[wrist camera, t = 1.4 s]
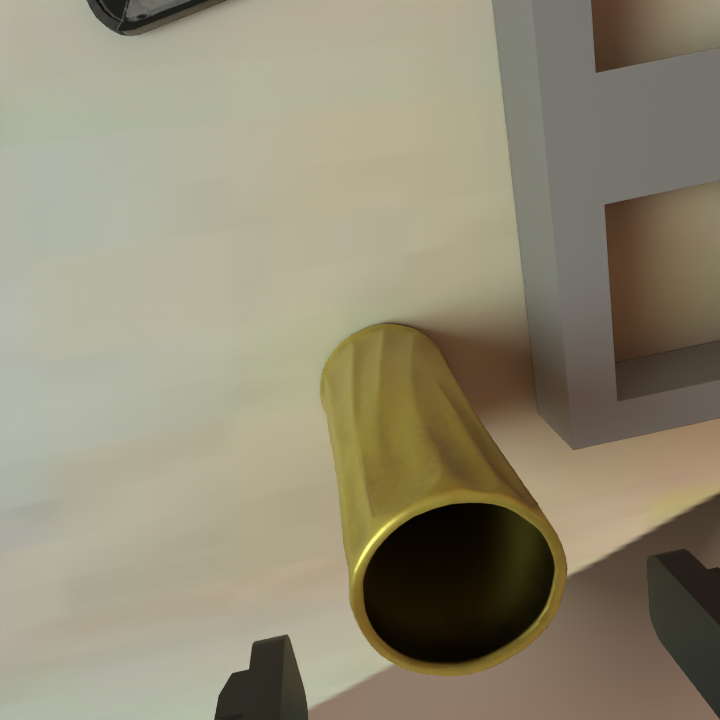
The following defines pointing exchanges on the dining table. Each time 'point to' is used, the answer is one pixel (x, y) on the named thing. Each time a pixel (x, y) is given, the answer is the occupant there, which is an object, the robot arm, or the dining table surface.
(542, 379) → the socket block
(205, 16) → the dining table surface
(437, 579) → the vase
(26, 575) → the dining table surface
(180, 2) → the phone
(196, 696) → the dining table surface
